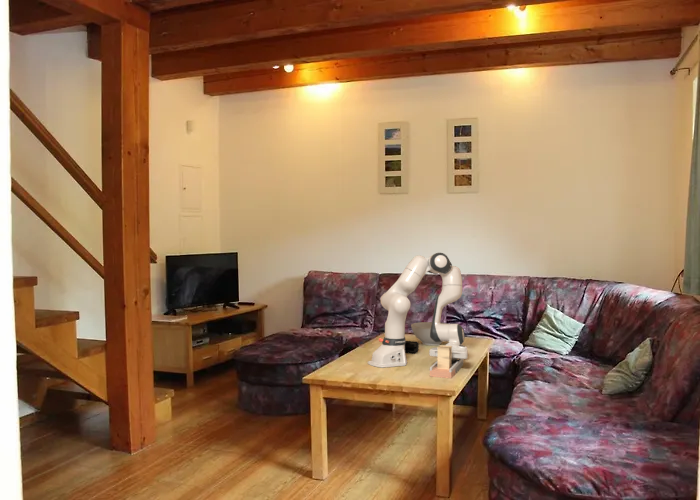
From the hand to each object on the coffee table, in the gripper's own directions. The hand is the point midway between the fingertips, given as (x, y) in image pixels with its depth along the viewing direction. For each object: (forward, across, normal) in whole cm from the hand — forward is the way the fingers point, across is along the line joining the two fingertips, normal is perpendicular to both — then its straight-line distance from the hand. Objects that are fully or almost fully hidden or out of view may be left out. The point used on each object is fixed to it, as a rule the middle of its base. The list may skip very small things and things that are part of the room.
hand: (445, 356), depth 315 cm
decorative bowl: (-75, -25, +9) cm, 80 cm away
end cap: (-43, -31, +9) cm, 54 cm away
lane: (-4, 0, +8) cm, 10 cm away
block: (+3, 0, +6) cm, 6 cm away
